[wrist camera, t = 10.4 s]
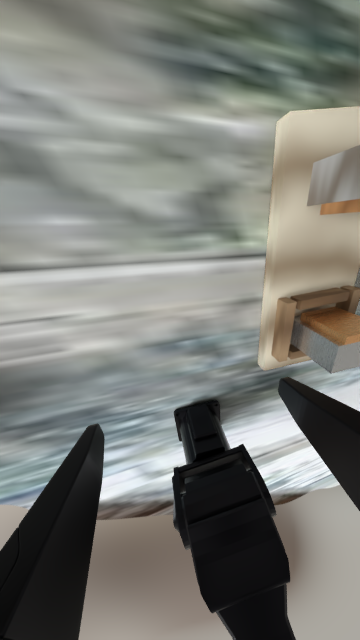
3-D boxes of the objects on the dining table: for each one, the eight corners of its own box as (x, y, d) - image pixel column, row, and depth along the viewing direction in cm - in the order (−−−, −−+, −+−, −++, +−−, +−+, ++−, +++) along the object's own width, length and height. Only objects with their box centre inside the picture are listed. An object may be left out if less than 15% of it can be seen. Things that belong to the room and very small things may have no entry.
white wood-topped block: (323, 331, 23) (377, 361, 18) (286, 339, 23) (330, 373, 17) (330, 302, 22) (393, 326, 16) (290, 310, 21) (341, 338, 16)
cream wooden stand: (323, 348, 27) (385, 387, 20) (257, 363, 26) (298, 410, 19) (386, 113, 16) (562, 29, 9) (276, 121, 15) (387, 34, 8)
